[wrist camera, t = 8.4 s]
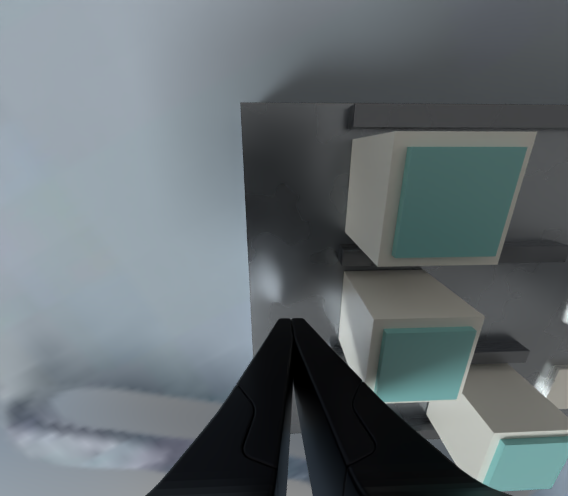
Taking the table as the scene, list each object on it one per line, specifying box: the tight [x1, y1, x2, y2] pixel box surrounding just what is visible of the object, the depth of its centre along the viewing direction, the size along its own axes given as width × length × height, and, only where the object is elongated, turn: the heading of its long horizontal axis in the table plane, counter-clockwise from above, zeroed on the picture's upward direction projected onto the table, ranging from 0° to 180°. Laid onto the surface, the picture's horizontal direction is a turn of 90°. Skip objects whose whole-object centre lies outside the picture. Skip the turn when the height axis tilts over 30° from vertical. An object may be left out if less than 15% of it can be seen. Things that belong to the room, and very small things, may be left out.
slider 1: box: [345, 131, 537, 267], centre depth 7 cm, size 3×3×3 cm
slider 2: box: [338, 270, 485, 404], centre depth 9 cm, size 3×3×3 cm
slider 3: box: [426, 363, 568, 491], centre depth 10 cm, size 3×3×3 cm
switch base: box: [240, 102, 568, 439], centre depth 11 cm, size 16×14×3 cm
